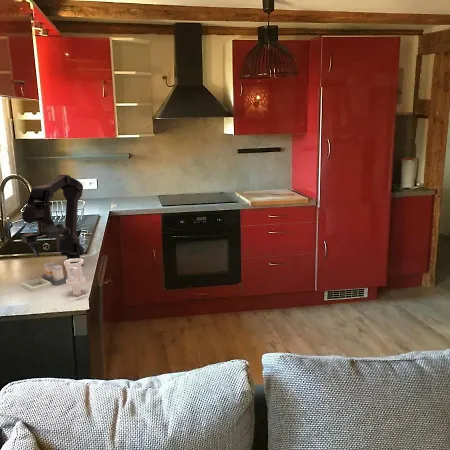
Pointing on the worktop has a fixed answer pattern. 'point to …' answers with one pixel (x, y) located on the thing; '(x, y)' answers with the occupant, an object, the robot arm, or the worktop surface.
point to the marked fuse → (49, 268)
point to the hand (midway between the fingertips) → (48, 254)
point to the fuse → (57, 272)
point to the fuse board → (55, 282)
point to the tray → (28, 283)
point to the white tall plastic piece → (75, 275)
